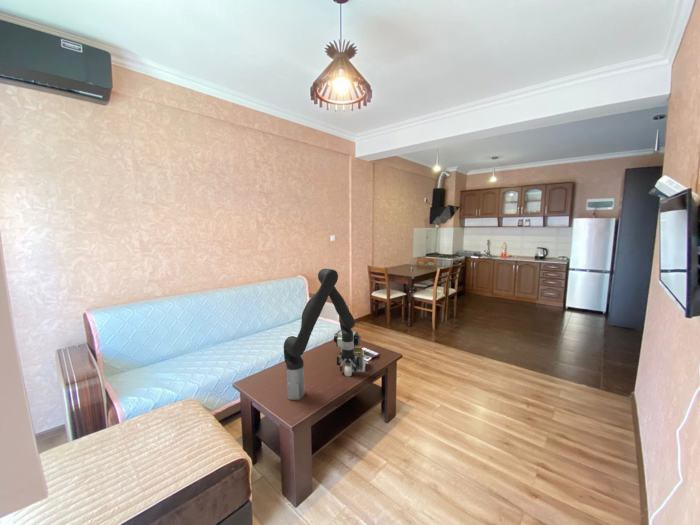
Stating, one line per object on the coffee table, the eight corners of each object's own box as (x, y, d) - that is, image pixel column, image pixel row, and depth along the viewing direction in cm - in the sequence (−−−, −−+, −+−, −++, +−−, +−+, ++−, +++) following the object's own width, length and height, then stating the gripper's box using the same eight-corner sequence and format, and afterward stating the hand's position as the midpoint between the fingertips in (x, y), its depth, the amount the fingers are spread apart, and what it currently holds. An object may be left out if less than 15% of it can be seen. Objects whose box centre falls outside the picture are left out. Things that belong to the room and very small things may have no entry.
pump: (351, 376, 182) (351, 365, 181) (343, 376, 183) (343, 365, 182) (352, 372, 187) (352, 362, 186) (344, 372, 187) (344, 361, 186)
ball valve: (333, 355, 210) (332, 331, 207) (337, 350, 218) (336, 327, 215) (357, 358, 205) (357, 334, 202) (360, 353, 213) (360, 329, 210)
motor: (364, 372, 187) (364, 354, 185) (348, 371, 188) (348, 353, 186) (365, 362, 199) (365, 345, 197) (351, 361, 200) (350, 345, 198)
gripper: (335, 349, 179) (336, 374, 182) (358, 350, 178) (359, 375, 180) (337, 343, 187) (337, 368, 189) (359, 344, 185) (360, 369, 188)
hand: (348, 371), depth 185 cm, fingers open, 7 cm apart
